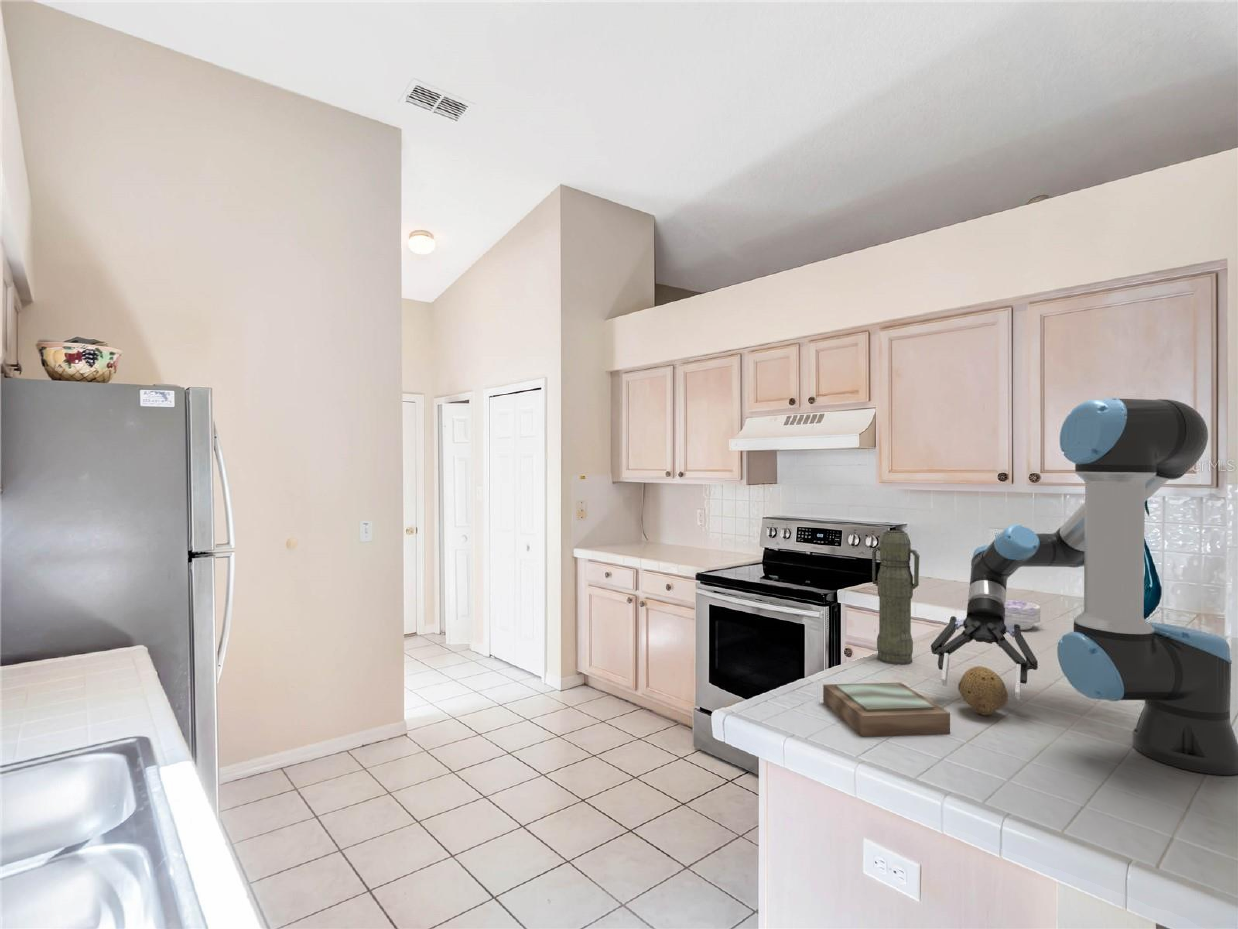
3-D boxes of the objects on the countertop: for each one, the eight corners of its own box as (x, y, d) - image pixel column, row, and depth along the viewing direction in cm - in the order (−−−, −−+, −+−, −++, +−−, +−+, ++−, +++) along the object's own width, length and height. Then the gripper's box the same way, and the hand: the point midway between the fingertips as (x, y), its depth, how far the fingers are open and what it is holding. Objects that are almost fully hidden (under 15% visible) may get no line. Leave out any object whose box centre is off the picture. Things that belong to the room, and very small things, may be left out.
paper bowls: (1029, 623, 217) (1030, 599, 217) (1048, 634, 202) (1048, 609, 202) (980, 620, 220) (980, 597, 221) (994, 631, 206) (994, 606, 206)
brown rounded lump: (947, 709, 138) (948, 663, 138) (976, 703, 141) (976, 658, 141) (987, 725, 129) (987, 675, 129) (1016, 718, 133) (1016, 670, 133)
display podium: (950, 733, 125) (950, 710, 125) (862, 736, 123) (862, 713, 123) (900, 700, 143) (900, 680, 143) (823, 702, 141) (823, 682, 141)
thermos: (917, 667, 167) (918, 533, 167) (869, 660, 172) (870, 531, 173) (920, 659, 174) (920, 531, 175) (874, 652, 180) (874, 528, 180)
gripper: (1051, 622, 142) (1050, 710, 130) (928, 607, 156) (917, 686, 144) (1051, 602, 138) (1050, 692, 126) (925, 589, 152) (913, 668, 140)
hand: (979, 689), depth 135 cm, fingers open, 13 cm apart
